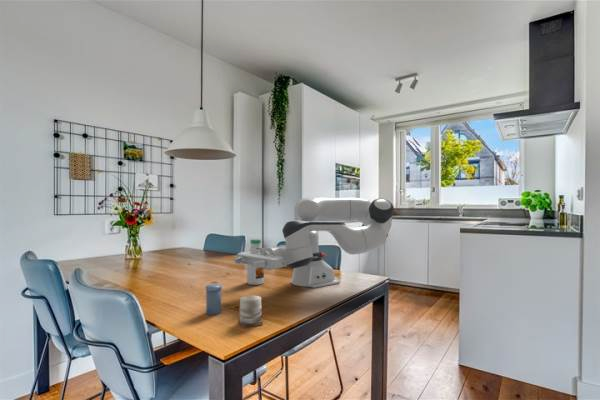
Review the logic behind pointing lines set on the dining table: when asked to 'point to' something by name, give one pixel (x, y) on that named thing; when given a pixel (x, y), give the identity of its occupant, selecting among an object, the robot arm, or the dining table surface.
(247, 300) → the stand
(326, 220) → the robot arm
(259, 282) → the milk bottle
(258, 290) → the dining table surface
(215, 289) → the blue canister
